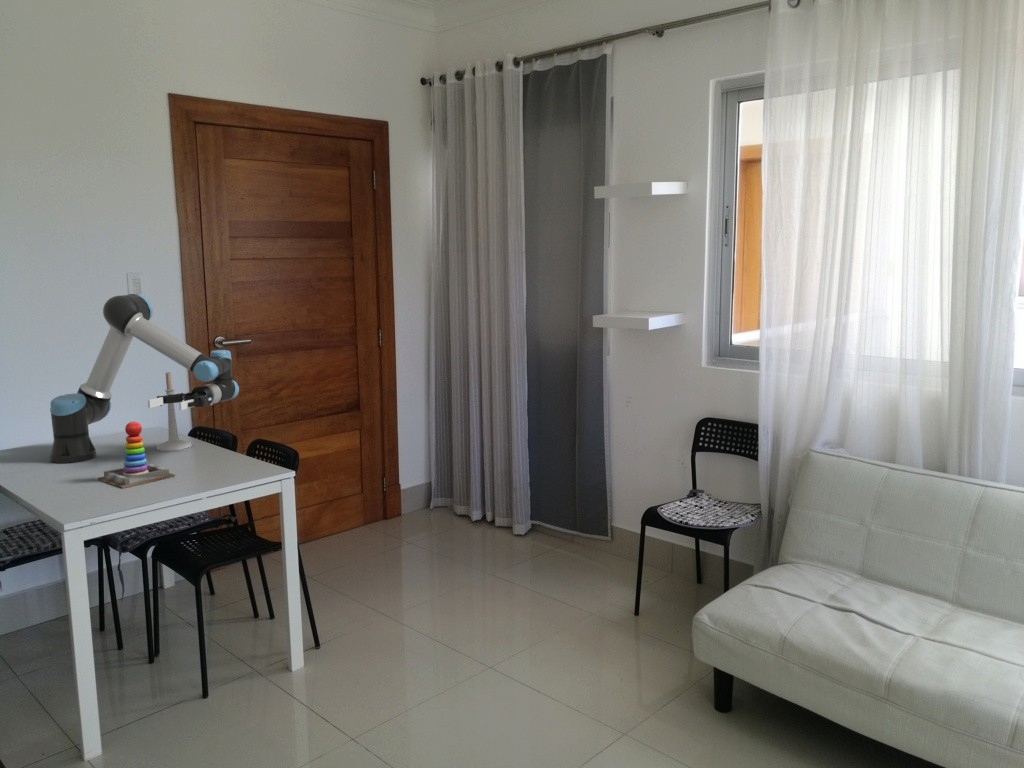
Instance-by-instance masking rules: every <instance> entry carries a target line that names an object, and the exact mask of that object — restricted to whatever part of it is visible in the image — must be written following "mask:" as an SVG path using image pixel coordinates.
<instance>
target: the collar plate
mask: <svg viewBox="0 0 1024 768" xmlns="http://www.w3.org/2000/svg"><path fill="white" fill-rule="evenodd" d="M146 464H147V466H148V468H147V470H148V471H149V473H145V474H140V475H136V476H131V477H125V476H123V473H124V470H123V467H120V468H116V469H111V470H106V471H103V476H100V477H97V480H98V479H99V480H98V481H100V480H102V481H101V482H103V481H105V482H104V483H106V482H107V483H106V484H109V483H110V484H109V485H111V484H113V485H112V486H114V485H116V486H115V487H117V486H118V487H117V488H120V487H121V488H120V489H122V488H124V489H127V488H126V487H128V488H131V486H132V487H136V486H135V485H137V486H141V485H145V483H146V484H149V483H148V482H150V483H154V482H153V481H155V482H158V481H157V480H159V481H162V479H163V480H167V479H166V478H168V479H171V478H170V477H172V478H175V477H174V476H177V475H176V474H174V473H170V469H169V468H165V467H162V466H160V465H159V466H158V465H155V464H152V463H149V462H147V463H146ZM140 484H141V485H140Z"/></svg>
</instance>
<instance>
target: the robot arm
mask: <svg viewBox="0 0 1024 768" xmlns="http://www.w3.org/2000/svg"><path fill="white" fill-rule="evenodd" d="M102 313H103V317H104V318H103V319H105V321H106V322H107V325H108V326H109V330H108V332H107V335H106V336H105V339H104V340H103V344H102V346H101V348H100V351H99V353H98V354H97V357H96V360H95V362H94V364H93V367H92V369H91V371H90V373H89V375H88V378H87V380H86V382H84V383H82V384H80V385H79V388H78V389H77V391H76V393H66V394H64V395H58V396H56V397H54V398H52V400H51V401H50V409H49V411H50V417H51V426H52V434H53V442H52V446H51V450H50V453H49V459H50V460H49V461H50V462H52V463H55V462H56V464H67V463H69V462H71V463H78V461H79V462H83V461H89V460H91V459H94V458H95V456H96V457H97V451H96V447H95V445H94V444H93V441H92V439H91V437H90V433H89V430H90V429H89V425H91V424H94V423H97V422H100V421H102V420H103V419H105V418H106V417H107V416H108V415H109V413H110V411H111V408H112V402H111V399H112V396H113V395H112V393H111V389H112V387H113V383H114V381H115V379H116V377H117V375H118V372H119V370H120V368H121V366H122V363H123V361H124V358H125V356H126V354H127V352H128V350H129V347H130V345H131V343H132V341H133V338H136V339H137V340H138V341H141V342H142V343H143V344H146V345H147V346H149V347H150V348H152V349H153V350H155V351H157V352H159V353H160V354H162V355H164V356H165V357H167V358H168V359H170V360H171V361H173V362H175V363H177V364H178V365H180V366H181V367H183V368H185V369H187V370H188V371H190V372H191V373H193V375H194V377H195V378H196V380H198V381H200V382H203V383H204V382H205V383H206V382H211V383H209V384H208V383H207V384H204V385H200V386H196V387H194V388H193V389H192V390H191V392H185V393H183V392H181V393H175V394H173V395H167V394H165V395H157V396H156V398H151V399H148V400H147V408H149V409H151V408H156V407H159V406H160V407H162V406H163V405H164V404H167V405H168V403H174V404H177V403H179V404H178V407H179V411H183V410H188V409H191V408H198V407H199V408H201V407H202V408H203V407H206V406H213V404H217V403H221V402H225V401H226V402H227V401H230V400H233V399H235V398H236V397H237V396H238V395H239V392H240V387H239V385H238V383H237V381H235V379H234V380H233V368H232V367H233V365H232V364H233V362H232V361H233V359H232V354H231V353H232V352H231V351H230V350H227V349H217V350H212V351H210V354H209V355H210V356H209V357H208V356H206V355H204V354H203V353H202V352H200V351H199V350H197V349H195V348H193V347H192V346H190V345H188V344H187V343H185V342H184V341H182V340H180V339H179V338H178V337H175V336H174V335H172V334H170V333H169V332H167V330H165V329H162V328H161V327H159V326H157V324H154V323H153V322H151V321H150V320H151V319H152V317H153V306H152V304H151V301H150V300H148V299H147V298H146V297H145V296H144V295H140V294H135V293H128V294H123V295H115V296H112V297H110V298H109V299H108V300H106V302H105V303H104V305H103V308H102Z"/></svg>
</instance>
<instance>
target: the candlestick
mask: <svg viewBox="0 0 1024 768" xmlns="http://www.w3.org/2000/svg"><path fill="white" fill-rule="evenodd" d="M172 379H173V378H172V373H171V372H169V371H167V372H165V382H166V384H165V385H166V389H164V391H165V392H166V394H165V395H173V394H174V393H175V389H174V388H173V381H172ZM167 420H168V421H167V423H168V427H167V428H168V440H166V441H164V442H161V443H160V444H158V445H157V446H156V450H157V451H158V450H160V451H159V452H174V451H173V450H179V449H184V448H188V447H190V446H193V445H192V443H191V442H190V441H187V440H183V439H180V438H179V432H178V425H177V424H178V423H177V417H176V409H175V403H168V404H167ZM190 448H191V447H190ZM188 449H189V448H188ZM184 450H185V449H184ZM179 451H180V450H179Z"/></svg>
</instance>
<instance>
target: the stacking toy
mask: <svg viewBox="0 0 1024 768" xmlns="http://www.w3.org/2000/svg"><path fill="white" fill-rule="evenodd" d="M142 429H143V428H142V425H141V423H140V422H138V421H130V422H128V423H126V424H125V433H126V435H128V436H126V438H125V441H126V443H125V445H124V446H125V451H124V452H125V454H124V459H125V460H124V462H123V465H124V466H123V467H122V468H123V470H124V473H123V476H125V477H131V476H136V475H140V474H145V473H149V471H148V470H147V468H148V466H147V464H146V463H148V459H146V453H145V451H146V450H145V448H144V442H143V436H142V435H140V434H141V433H142Z"/></svg>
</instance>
